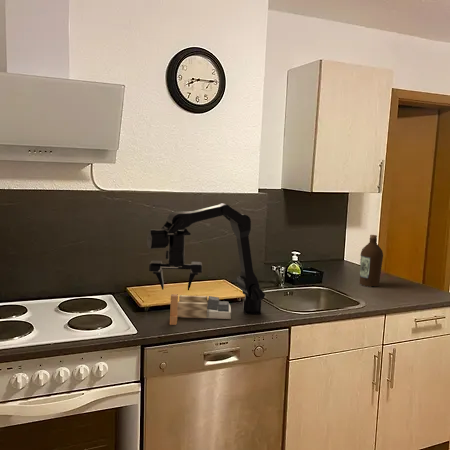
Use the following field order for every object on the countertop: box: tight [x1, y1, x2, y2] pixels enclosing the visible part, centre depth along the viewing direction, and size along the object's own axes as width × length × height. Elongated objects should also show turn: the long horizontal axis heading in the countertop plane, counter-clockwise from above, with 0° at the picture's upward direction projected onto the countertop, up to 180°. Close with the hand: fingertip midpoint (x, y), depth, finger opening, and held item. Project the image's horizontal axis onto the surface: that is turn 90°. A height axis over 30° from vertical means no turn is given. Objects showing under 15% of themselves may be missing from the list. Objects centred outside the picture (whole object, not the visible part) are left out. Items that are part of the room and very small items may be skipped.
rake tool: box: [169, 293, 179, 326], centre depth 174 cm, size 2×6×10 cm, turn 2°
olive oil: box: [359, 234, 384, 287], centre depth 236 cm, size 11×11×25 cm
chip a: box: [218, 300, 230, 312], centre depth 184 cm, size 4×4×4 cm
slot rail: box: [177, 294, 209, 319], centre depth 184 cm, size 11×10×6 cm
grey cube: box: [207, 295, 220, 311], centre depth 184 cm, size 4×4×4 cm
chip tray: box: [206, 302, 232, 320], centre depth 185 cm, size 9×10×2 cm
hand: (175, 289), depth 174 cm, fingers open, 9 cm apart
